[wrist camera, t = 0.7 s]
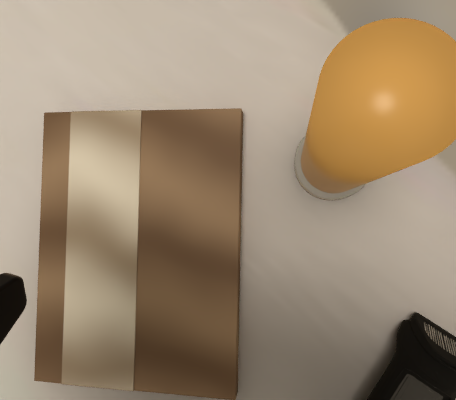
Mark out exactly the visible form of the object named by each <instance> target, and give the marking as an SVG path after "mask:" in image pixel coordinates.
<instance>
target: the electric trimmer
mask: <svg viewBox="0 0 456 400" xmlns="http://www.w3.org/2000/svg"><path fill="white" fill-rule="evenodd" d="M455 399H456V337H455V336H453V335H452V334H450V333H449V332H447V331H445V330H444V329H442V328H441V327H439V326H438V325H436V324H434V323H433V322H431V321H430V320H428V319H427V318H425V317H423V316H422V315H420V314H419V313H415V314H414V315H413V316H412V318H411V319H410V320H403V322H402V324H401V326H400V328H399V330H398V335H397V346H396V352H395V355H394V357H393V359H392V360H391V362H390V364H389V366H388V367H387V369H386V371H385V372H384V374H383V376H382V377H381V379H380V380H379V382H378V384H377V385H376V387H375V388H374V390H373V391H372V393H371V394H370V396H369V397H368V399H367V400H455Z"/></svg>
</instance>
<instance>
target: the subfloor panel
mask: <svg viewBox="0 0 456 400" xmlns="http://www.w3.org/2000/svg"><path fill="white" fill-rule="evenodd" d="M242 143H243V112H242V110H241V109H195V110H148V111H142V110H126V111H79V112H54V113H44V135H43V162H42V189H41V216H40V243H39V270H38V297H37V324H36V351H35V378H34V381H43V382H53V383H61V384H65V385H75V386H85V387H96V388H106V389H116V390H127V391H134V390H135V391H146V392H156V393H166V394H177V395H187V396H197V397H208V398H218V399H228V400H235V399H236V396H237V392H238V345H239V295H240V244H241V193H242Z"/></svg>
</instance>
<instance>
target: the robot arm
mask: <svg viewBox="0 0 456 400" xmlns="http://www.w3.org/2000/svg"><path fill="white" fill-rule="evenodd" d="M26 302H27V299H26V293H25V288H24V282H23V279H22V278H21V277H19V276H16V275H13V274H10V273H3V274H0V344H1V343H2V341H3V340H4V338H5V337H6V335H7V334H8V333H9V331H10V330H11V328H12V327H13V325H14V324H15V322H16V321H17V319H18V318H19V316H20V315H21V314H22V312H23V311H24V309H25V306H26Z"/></svg>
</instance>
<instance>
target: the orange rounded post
mask: <svg viewBox="0 0 456 400" xmlns="http://www.w3.org/2000/svg"><path fill="white" fill-rule="evenodd" d="M455 139H456V42H455V40H454V39H453V38H451V37H450V36H449V35H448V34H446V33H445V32H444V31H442V30H441V29H439V28H437V27H435V26H433V25H431V24H428V23H426V22H423V21H419V20H415V19H407V18H390V19H383V20H379V21H375V22H372V23H369V24H366V25H364V26H362V27H360V28H358V29H356V30H355V31H353V32H352V33H350V34H349V35H347V36H346V37H345V38H344V39H343V40H341V41H340V42H339V43H338V44H337V46H336V47H335V48H334V49H333V50H332V52H331V53H330V55H329V56H328V58H327V59H326V61H325V63H324V65H323V68H322V70H321V73H320V76H319V81H318V85H317V90H316V94H315V98H314V103H313V107H312V111H311V116H310V120H309V124H308V129H307V133H306V136H305V137H304V138H303V139H302V141H301V142H300V144H299V146H298V148H297V151H296V155H295V164H294V165H295V173H296V176H297V179H298V181H299V183H300V184H301V186H302V187H303V188H304V189H305V190H306V191H307V192H308V193H310V194H311V195H313V196H315V197H317V198H320V199H324V200H337V199H342V198H345V197H348V196H351V195H353V194H355V193H356V192H358V191H359V190H360V189H361V188H362V187H363V186H364V185H365V184H366V183H368V182H371V181H374V180H376V179H379V178H381V177H384V176H386V175H389V174H392V173H394V172H397V171H399V170H402V169H404V168H407V167H409V166H412V165H415V164H417V163H420V162H422V161H425V160H427V159H429V158H431V157H433V156H435V155H437V154H438V153H440V152H442V151H443V150H444V149H445V148H446V147H448V146H449V145H450V144H451V143H452V142H453V141H454V140H455Z"/></svg>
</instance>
